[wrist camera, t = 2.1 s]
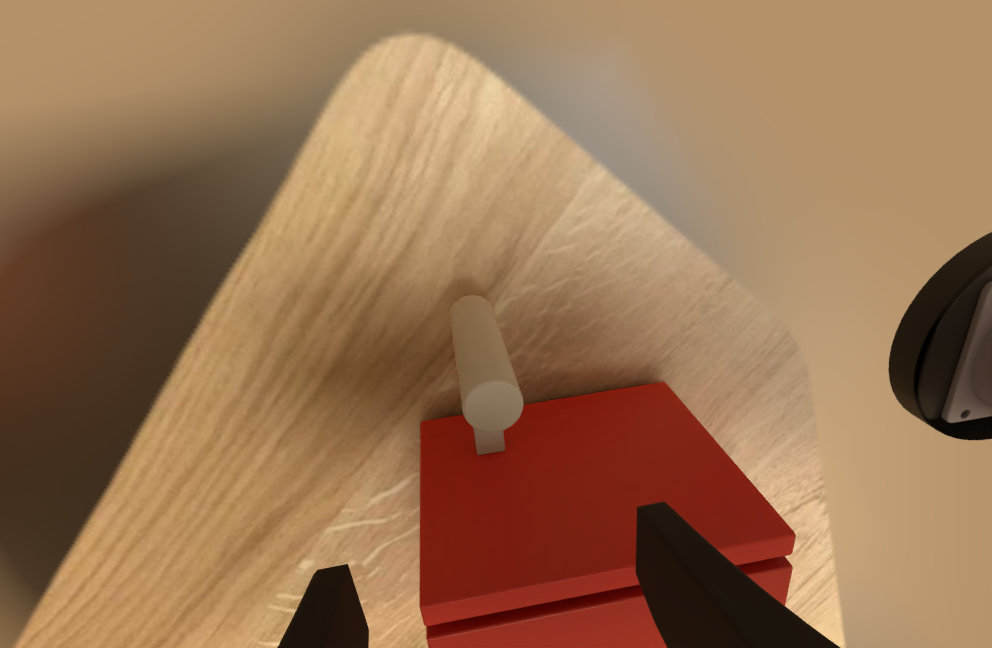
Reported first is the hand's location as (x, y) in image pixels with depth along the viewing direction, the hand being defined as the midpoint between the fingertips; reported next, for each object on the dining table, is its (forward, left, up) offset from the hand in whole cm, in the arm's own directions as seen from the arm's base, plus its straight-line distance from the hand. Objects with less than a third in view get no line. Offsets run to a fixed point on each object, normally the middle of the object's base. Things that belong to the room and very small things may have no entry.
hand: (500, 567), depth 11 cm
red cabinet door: (-3, 0, -9) cm, 10 cm away
